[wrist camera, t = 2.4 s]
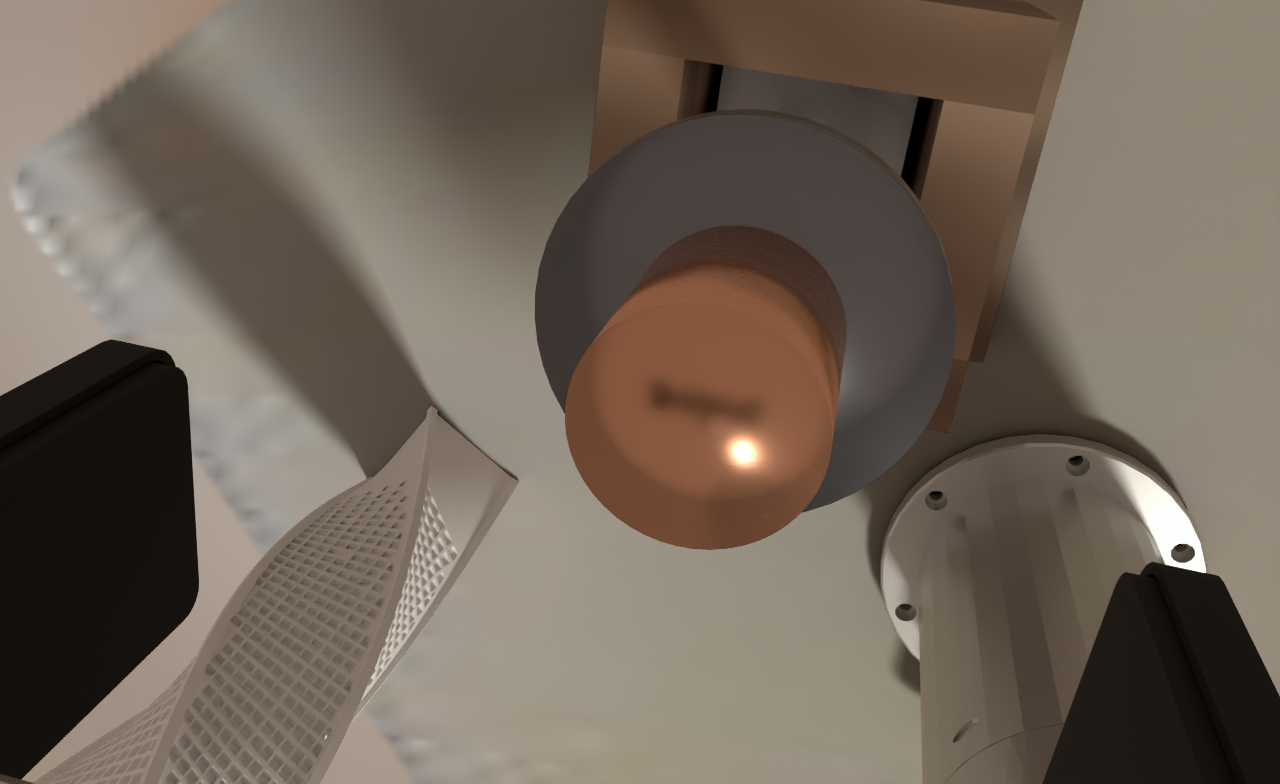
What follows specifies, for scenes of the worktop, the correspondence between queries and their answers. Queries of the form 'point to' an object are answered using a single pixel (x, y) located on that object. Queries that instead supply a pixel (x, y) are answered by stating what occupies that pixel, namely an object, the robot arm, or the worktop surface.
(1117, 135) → the worktop surface
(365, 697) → the skyscraper
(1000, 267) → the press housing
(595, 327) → the plunger
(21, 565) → the robot arm
